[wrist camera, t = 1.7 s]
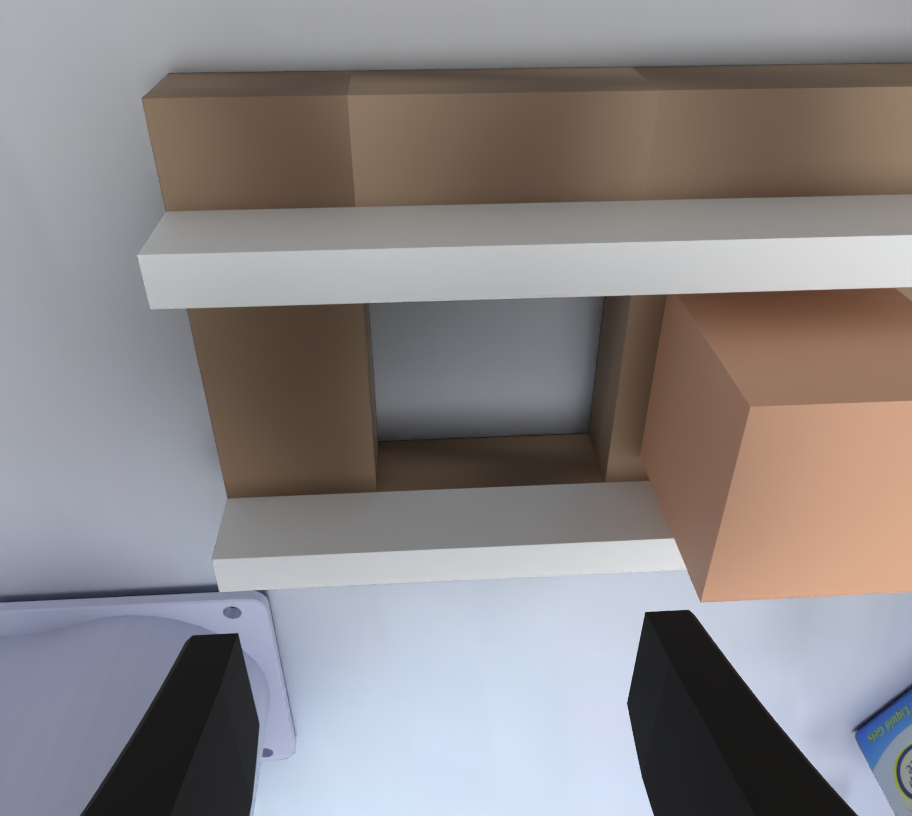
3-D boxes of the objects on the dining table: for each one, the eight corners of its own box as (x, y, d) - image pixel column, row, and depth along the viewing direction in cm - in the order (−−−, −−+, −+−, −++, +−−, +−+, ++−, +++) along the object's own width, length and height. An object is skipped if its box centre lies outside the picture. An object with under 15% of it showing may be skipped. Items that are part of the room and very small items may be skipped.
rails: (234, 529, 19) (219, 591, 18) (165, 211, 15) (136, 255, 13) (950, 497, 20) (999, 554, 18) (1093, 190, 16) (1175, 228, 14)
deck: (257, 533, 22) (246, 586, 20) (169, 73, 15) (141, 98, 14) (1115, 494, 23) (1170, 542, 22) (1387, 56, 16) (1497, 77, 15)
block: (639, 457, 19) (700, 602, 15) (668, 282, 16) (750, 406, 12) (824, 449, 19) (929, 591, 15) (882, 276, 16) (1024, 396, 13)
